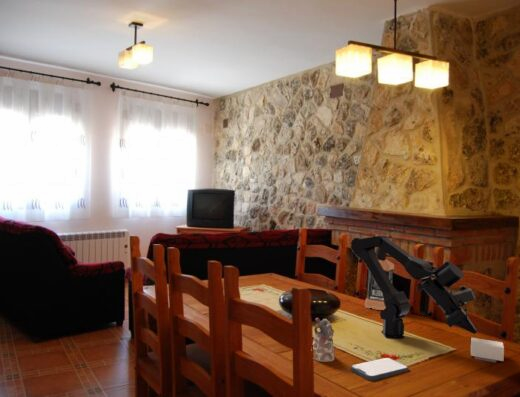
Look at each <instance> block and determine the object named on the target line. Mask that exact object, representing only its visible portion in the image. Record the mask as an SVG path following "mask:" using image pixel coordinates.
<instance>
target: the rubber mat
mask: <svg viewBox="0 0 520 397" xmlns="http://www.w3.org/2000/svg"><path fill="white" fill-rule="evenodd" d="M473 357H474V358H473V359H474V360H479V361H485V362H489V363H497V360H493V359H488V358H482V357H476V356H473Z"/></svg>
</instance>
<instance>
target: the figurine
mask: <svg viewBox="0 0 520 397" xmlns="http://www.w3.org/2000/svg"><path fill="white" fill-rule="evenodd" d="M315 321H316V325H315V326H314V330H313V331H314V335H315V336H314V337H313V342H312V345H313V349H314V359H313V360H315V361H318V362H321V363H323V362H324V363H326V362H328V363H329V362H333V361H334V360H335V359H336V358H335V348H334V339H333V336H334V333H335V331H334V329H333V327H332V324H331V322H330V321H329V320H328V319H327V318H322V320H321V319H320V318H319V317H316V318H315ZM318 329H319V330H320V331H318Z"/></svg>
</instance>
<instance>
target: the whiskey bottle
mask: <svg viewBox="0 0 520 397" xmlns="http://www.w3.org/2000/svg"><path fill="white" fill-rule="evenodd" d="M375 255H376V257H377V259H378V261H379V263H380V264H381V266H382V268H383V269H384V271H385V273H386V274H387V276H388V278H389V279H390V281H391V283H392V284H393V285H394V283H393V280H394V278H393V277H394V269H395V264H394V263H393V262H391V260H388V259H387V255H388V254H387V253H386V252H385V251H383V250H382V249H381V248H379V247H376V248H375ZM367 270H368V271H367V287H366V298H365V301H364V302H365V304H364V308H366V309H370V308H372V309H371V310H377V311H381V310H384V309H385V308H386V307H385V305H384V296H383V294H382V292H381V290H380V288H379V287H378V285H377V283H376V281H375V280H374V278H373V276H372V275H371V273H370V271H369V269H368V268H367Z"/></svg>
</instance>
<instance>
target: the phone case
mask: <svg viewBox="0 0 520 397" xmlns="http://www.w3.org/2000/svg"><path fill="white" fill-rule="evenodd" d="M349 369H350V371H351V372H352V373H353V374H356V375H357V376H359V377H361V378H363V379H365V380H367V381H370V382H374V381H378V380H381V379H384V378H389V377H392V376H395V375H400V374H403V373H406V372H409V366H407V365H405V364H403V363H401V362H399V361H397V360H395V359H393V358H390V357H383V358H379V359H373V360H370V361H366V362H365V361H364V362H361V363H356V364H351V365H350V368H349Z"/></svg>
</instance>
